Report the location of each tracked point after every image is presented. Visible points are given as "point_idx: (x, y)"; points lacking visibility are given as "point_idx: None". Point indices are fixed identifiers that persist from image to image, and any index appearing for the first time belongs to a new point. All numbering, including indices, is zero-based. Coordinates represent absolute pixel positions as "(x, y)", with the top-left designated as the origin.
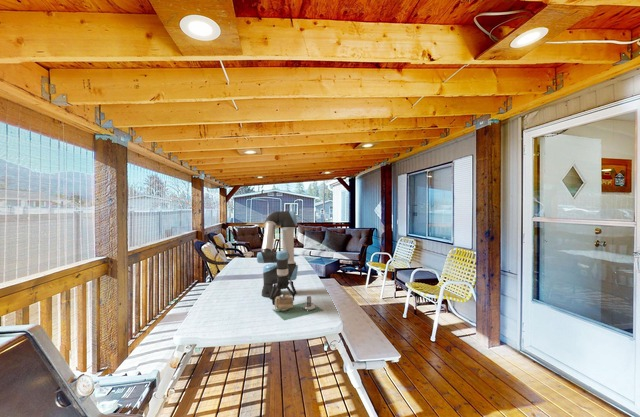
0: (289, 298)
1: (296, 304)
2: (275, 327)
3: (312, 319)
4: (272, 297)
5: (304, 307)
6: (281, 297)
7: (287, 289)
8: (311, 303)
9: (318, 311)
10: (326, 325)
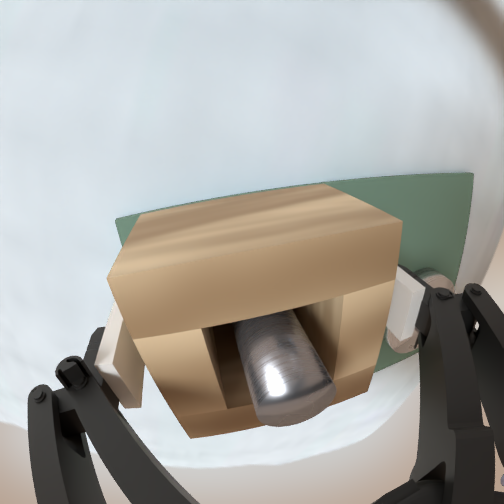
0: (339, 393)
1: (396, 181)
2: (145, 442)
3: (340, 410)
4: (85, 447)
5: (389, 338)
6: (245, 375)
7: (443, 405)
8: (464, 220)
9: (414, 351)
10: (346, 439)
